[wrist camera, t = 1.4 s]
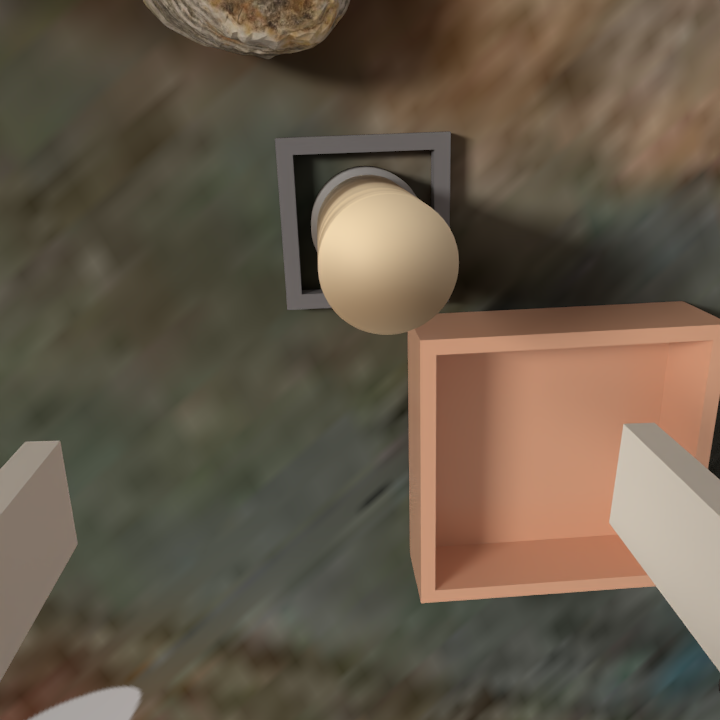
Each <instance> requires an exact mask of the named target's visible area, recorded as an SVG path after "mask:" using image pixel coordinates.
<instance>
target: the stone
mask: <svg viewBox="0 0 720 720" xmlns="http://www.w3.org/2000/svg"><path fill="white" fill-rule="evenodd" d="M143 2H144V3H145V5H146V6H147V8H148V9H149V10H150V11H151V12H152V13H153V14H154V15H155V16H156V17H157V18H158V19H159V20H160V21H161V22H162V23H163V24H164V25H166V26H167V27H168V28H170V29H172V30H174V31H175V32H177V33H178V34H181V35H183V36H185V37H187V38H188V39H190V40H193V41H195V42H197V43H199V44H201V45H203V46H208V47H214V48H218V49H223V50H226V51H229V52H232V53H236V54H241V55H254V56H257V57H261V58H264V59H271V58H272V57H274V56H277V55H281V54H285V53H294V52H299V51H303V50H307V49H311V48H313V47H315V46H316V45H317V44H319V43H320V42H322V41H323V40H325V39H326V37H327V36H328V35H329V34H330V32H331V31H332V30H333V29H334V27H335V26H336V24H337V23H338V22H339V20H340V19H341V18H342V17H343V16H344V14H345V13H346V11H347V8H348V6H349V3H350V0H143Z"/></svg>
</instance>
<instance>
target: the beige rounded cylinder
mask: <svg viewBox="0 0 720 720" xmlns="http://www.w3.org/2000/svg"><path fill="white" fill-rule="evenodd" d="M311 233H312V239H313V243H314V246H315V248H316V251H317V252H318V274H319V281H320V285H321V288H322V291H323V293H324V296H325V298H326V300H327V301H328V303H329V305H330V306H331V307H332V309H333V310H334V311H335V312H336V313H337V314H338V315H339V316H340V317H341V318H342V319H343V320H345V321H346V322H347V323H349V324H350V325H352V326H354V327H356V328H358V329H360V330H363V331H366V332H370V333H374V334H381V335H391V334H399V333H404V332H408V331H410V330H413V329H416V328H418V327H420V326H421V325H423V324H425V323H426V322H428V321H429V320H431V319H432V318H433V317H434V316H435V315H436V314H438V313H439V311H440V310H441V309H442V308H443V307H444V305H445V304H446V303H447V301H448V300H449V298H450V296H451V294H452V292H453V290H454V287H455V284H456V281H457V276H458V269H459V255H458V249H457V245H456V241H455V238H454V236H453V234H452V232H451V230H450V228H449V226H448V225H447V223H446V222H445V220H444V219H443V218H442V217H441V216H440V215H439V214H438V213H437V212H436V211H435V210H434V209H432V208H431V207H430V206H428V205H427V204H425V203H424V202H422V201H421V200H420V199H418V198H417V197H416V195H415V194H414V192H413V191H412V189H411V188H410V187H409V186H408V185H407V184H406V183H405V182H404V181H403V180H402V179H400V178H399V177H397V176H396V175H394V174H392V173H391V172H389V171H386V170H384V169H381V168H378V167H373V166H357V167H352V168H349V169H346V170H344V171H341V172H340V173H338V174H336V175H335V176H333V177H332V178H331V179H330V180H329V181H328V182H327V183H326V184H325V185H324V186H323V187H322V189H321V190H320V192H319V193H318V195H317V197H316V199H315V202H314V205H313V209H312V215H311Z"/></svg>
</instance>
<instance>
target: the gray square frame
mask: <svg viewBox="0 0 720 720" xmlns="http://www.w3.org/2000/svg"><path fill="white" fill-rule="evenodd" d="M275 146H276V160H277V173H278V187H279V201H280V214H281V228H282V241H283V255H284V269H285V282H286V296H287V310H298V309H318V308H332V307H331V306H330V305H329V303H328V301H327V300H326V298H325V296H324V293H323V291H322V289H314V290H302V281H301V266H300V251H299V235H298V220H297V204H296V189H295V174H294V158H293V155H305V154H331V153H357V152H383V151H409V150H431V208H432V209H434V210H435V211H436V212H437V213H438V214H439V215H440V216H441V217H442V218H443V219H444V220H445V222H446V223H447V225H448V226H449V228H450V155H451V132H424V133H398V134H371V135H344V136H317V137H290V138H275ZM447 302H449V300H448V301H447Z"/></svg>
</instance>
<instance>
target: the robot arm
mask: <svg viewBox="0 0 720 720" xmlns="http://www.w3.org/2000/svg"><path fill="white" fill-rule="evenodd" d="M609 523H610V525H611V526H612V528H613V529H614V530H615V532H616V533H617V534H618V536H619V537H620V538H621V540H622V541H623V542H624V544H625V545H626V546H627V548H628V549H629V550H630V552H631V553H632V554H633V556H634V557H635V558H636V560H637V561H638V562H639V564H640V565H641V567H642V568H643V569H644V571H645V572H646V573H647V575H648V576H649V577H650V579H651V580H652V581H653V583H654V584H655V585H656V587H657V588H658V589H659V591H660V592H661V593H662V595H663V596H664V597H665V599H666V600H667V601H668V603H669V604H670V606H671V607H672V608H673V610H674V611H675V612H676V614H677V615H678V616H679V618H680V619H681V620H682V622H683V623H684V624H685V626H686V627H687V628H688V630H689V631H690V632H691V634H692V635H693V636H694V638H695V639H696V640H697V642H698V643H699V645H700V646H701V647H702V649H703V650H704V651H705V653H706V654H707V655H708V657H709V658H710V659H711V661H712V662H713V663H714V665H715V666H716V667H717V669H718V670H719V671H720V479H718V478H717V477H716V476H715V475H714V474H713V473H712V472H710V471H709V470H708V469H707V468H706V467H705V466H704V465H702V464H701V463H700V462H699V461H698V460H697V459H696V458H694V457H693V456H692V455H691V454H690V453H689V452H688V451H686V450H685V449H684V448H683V447H682V446H681V445H679V444H678V443H677V442H676V441H675V440H674V439H673V438H671V437H670V436H669V435H668V434H667V433H666V432H665V431H663V430H662V429H661V428H660V427H659V426H658V425H657V424H655V423H630V424H623V430H622V437H621V444H620V451H619V458H618V465H617V472H616V479H615V485H614V492H613V499H612V506H611V513H610V520H609ZM77 544H78V543H77V537H76V531H75V526H74V520H73V514H72V508H71V502H70V496H69V490H68V484H67V479H66V473H65V467H64V461H63V455H62V449H61V443H60V441H35V442H25V443H24V444H23V445H22V446H21V447H20V448H19V449H18V450H17V451H16V453H15V454H14V455H13V456H12V457H11V458H10V459H9V460H8V461H7V462H6V464H5V465H4V466H3V467H2V468H1V469H0V681H1V679H2V677H3V676H4V674H5V672H6V670H7V669H8V667H9V665H10V663H11V661H12V660H13V658H14V656H15V654H16V653H17V651H18V649H19V647H20V645H21V644H22V642H23V640H24V638H25V637H26V635H27V633H28V631H29V629H30V628H31V626H32V624H33V622H34V621H35V619H36V617H37V615H38V613H39V612H40V610H41V608H42V606H43V605H44V603H45V601H46V599H47V597H48V596H49V594H50V592H51V590H52V589H53V587H54V585H55V583H56V582H57V580H58V578H59V576H60V574H61V573H62V571H63V569H64V567H65V566H66V564H67V562H68V560H69V558H70V557H71V555H72V553H73V551H74V550H75V548H76V546H77Z"/></svg>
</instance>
